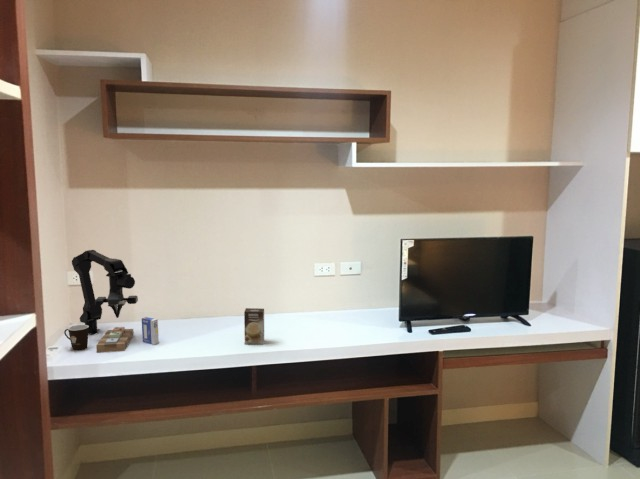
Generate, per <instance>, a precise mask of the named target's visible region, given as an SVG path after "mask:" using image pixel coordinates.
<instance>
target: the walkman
mask: <svg viewBox="0 0 640 479" xmlns="http://www.w3.org/2000/svg"><path fill="white" fill-rule="evenodd" d="M141 330H142V331H141V332H142V335H141V336H142V342H143V343H145V344H149V345H150V344H151V345H156V344H159V342H160V340H159V339H160V338H159V322H158V318H154V317H153V318H152V317H148V316H146V317H142V318H141Z"/></svg>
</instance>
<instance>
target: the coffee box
mask: <svg viewBox="0 0 640 479" xmlns="http://www.w3.org/2000/svg"><path fill="white" fill-rule="evenodd" d="M243 316H244V318H243V319H244V324H243V325H244V345H252V346H253V345H254V346H255V345H260V346H261V345H262V346H263V345H264V343H265V308H259V307H258V308H254V307H253V308H249V307H247V308H245V310H244V313H243Z"/></svg>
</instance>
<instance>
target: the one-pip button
mask: <svg viewBox="0 0 640 479" xmlns="http://www.w3.org/2000/svg"><path fill="white" fill-rule="evenodd" d="M118 341H119V338H110V339H107V341H106V344H107V343H118Z"/></svg>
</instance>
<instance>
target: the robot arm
mask: <svg viewBox="0 0 640 479" xmlns="http://www.w3.org/2000/svg"><path fill="white" fill-rule="evenodd" d="M93 262H94V263H96V264H97V265H100V266H102V267H103V268H104V270H105V271H106V272H107V274H106V275H105V277H108V282H109V291H108V295H107V296H98V297H97V298H96V296H95V292H94V287H93V283H92V278H91V275H90V274H91V273H90V271H91V269H92V263H93ZM71 266H72V268H73V271H74V272H76V273H77V274H78V277H79V281H80V282H79V283H80V287H81V291H82V296H83V300H84V301H83V302H84V304H83V307H82V314H81V315H80V317H79V322H80V323H83V324H84V325H88V326H89V330H88V335H97V334H98V333H99V331H100V329H99V328H98V320H102V316H103V307H102V305H104V303H106V304H107V307H110V308H111V309H112V311H113V313H114V316H115V317H116V319H117V318H119V317H120V315H121V312H122V308H123V307H124V305H126V303H127V304H128V305H131V304H132V305H133V304H134V305H135V304H137V303H138V302H139V297H138V296H137V295H128V297H125V296H124V293H123V289H133V288H134V286H135V284H136V280H135V278H134V277H133V276H132V274H131V273H129V270H128V269H127V268H126V265H125V263H124V262H123V260H122V259H118V258H112V257H111V258H110V257H108V256H106V255H104V254H102V253H99V252H97V251H96V250H95V249H89V250H84V251H83V252H82V253H80V254H77V256H74V257H72V260H71Z"/></svg>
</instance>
